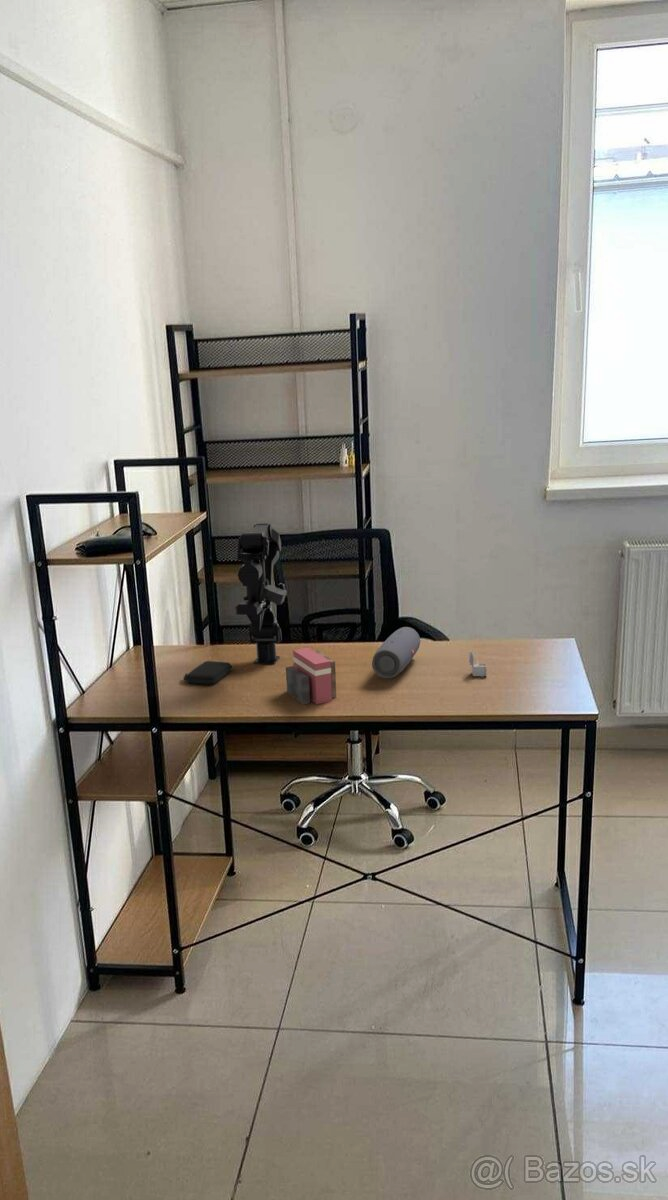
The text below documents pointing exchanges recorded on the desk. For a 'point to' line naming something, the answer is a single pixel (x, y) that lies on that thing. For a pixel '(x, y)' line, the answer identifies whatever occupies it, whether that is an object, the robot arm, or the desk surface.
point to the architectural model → (477, 666)
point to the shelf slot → (305, 682)
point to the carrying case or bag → (208, 673)
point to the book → (315, 673)
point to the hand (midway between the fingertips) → (258, 631)
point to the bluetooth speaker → (396, 652)
